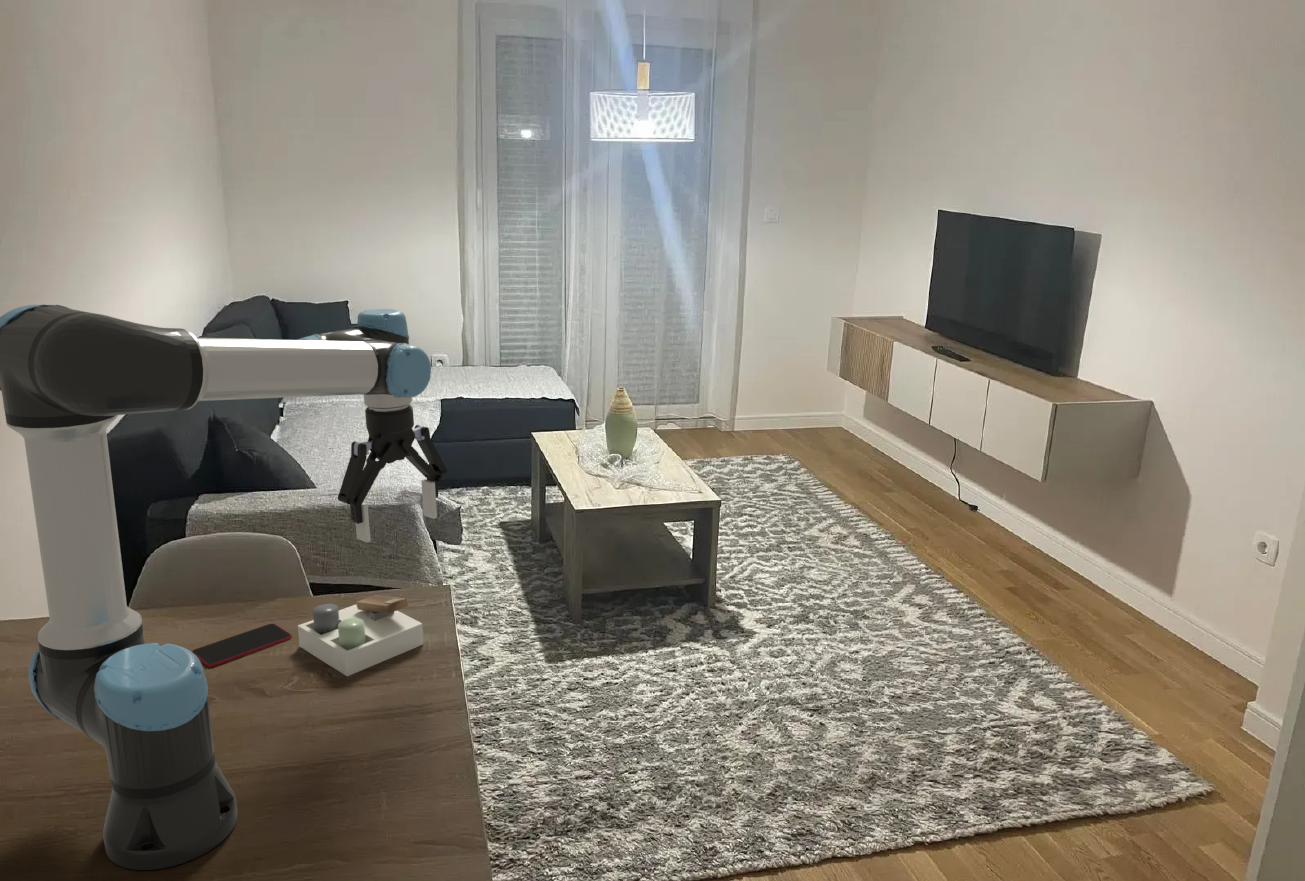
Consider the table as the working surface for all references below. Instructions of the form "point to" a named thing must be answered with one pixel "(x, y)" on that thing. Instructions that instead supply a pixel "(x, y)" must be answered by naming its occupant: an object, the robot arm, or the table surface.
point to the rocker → (382, 604)
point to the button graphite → (325, 618)
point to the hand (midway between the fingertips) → (398, 528)
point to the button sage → (351, 633)
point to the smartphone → (241, 645)
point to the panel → (382, 640)
